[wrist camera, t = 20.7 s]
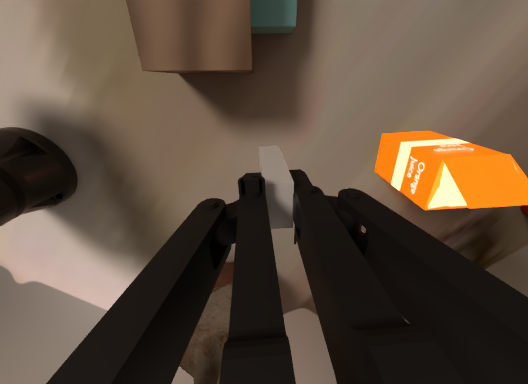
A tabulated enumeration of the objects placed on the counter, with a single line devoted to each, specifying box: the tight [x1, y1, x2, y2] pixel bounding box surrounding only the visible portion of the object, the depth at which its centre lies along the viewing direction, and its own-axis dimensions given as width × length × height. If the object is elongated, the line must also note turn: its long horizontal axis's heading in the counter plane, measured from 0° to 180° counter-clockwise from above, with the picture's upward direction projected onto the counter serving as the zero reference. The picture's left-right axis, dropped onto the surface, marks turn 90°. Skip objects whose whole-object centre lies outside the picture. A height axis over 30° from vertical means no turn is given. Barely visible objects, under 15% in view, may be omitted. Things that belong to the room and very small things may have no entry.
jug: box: [179, 263, 234, 384], centre depth 42 cm, size 22×22×30 cm
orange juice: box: [375, 131, 528, 210], centre depth 33 cm, size 8×9×20 cm
